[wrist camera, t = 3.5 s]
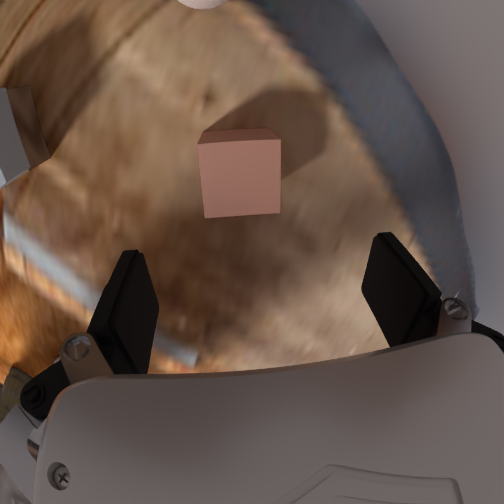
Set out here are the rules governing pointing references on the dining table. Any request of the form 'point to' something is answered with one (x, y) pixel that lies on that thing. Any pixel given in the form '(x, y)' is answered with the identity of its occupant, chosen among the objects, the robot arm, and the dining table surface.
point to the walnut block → (28, 126)
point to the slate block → (10, 144)
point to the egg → (203, 3)
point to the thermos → (12, 391)
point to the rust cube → (240, 172)
